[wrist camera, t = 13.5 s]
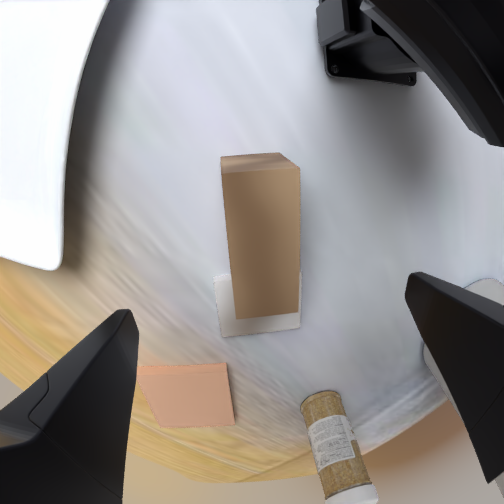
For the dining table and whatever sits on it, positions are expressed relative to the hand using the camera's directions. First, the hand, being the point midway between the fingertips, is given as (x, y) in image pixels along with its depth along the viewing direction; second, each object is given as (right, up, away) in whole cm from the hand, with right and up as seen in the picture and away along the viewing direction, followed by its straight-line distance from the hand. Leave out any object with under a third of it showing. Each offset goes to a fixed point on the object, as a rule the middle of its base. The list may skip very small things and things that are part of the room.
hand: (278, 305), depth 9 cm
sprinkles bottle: (+6, -14, +20) cm, 26 cm away
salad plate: (-20, +13, +4) cm, 24 cm away
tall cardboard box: (-1, +2, +12) cm, 12 cm away
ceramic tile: (-7, -8, +15) cm, 19 cm away
